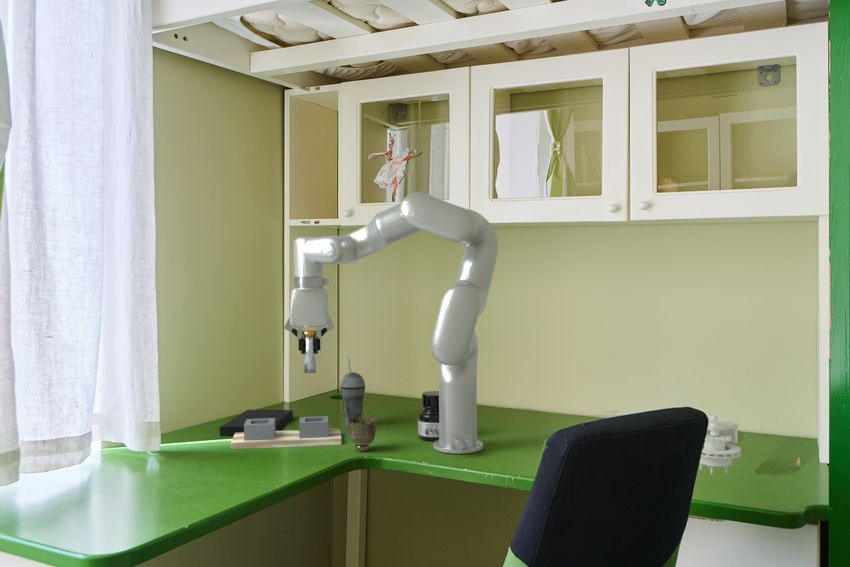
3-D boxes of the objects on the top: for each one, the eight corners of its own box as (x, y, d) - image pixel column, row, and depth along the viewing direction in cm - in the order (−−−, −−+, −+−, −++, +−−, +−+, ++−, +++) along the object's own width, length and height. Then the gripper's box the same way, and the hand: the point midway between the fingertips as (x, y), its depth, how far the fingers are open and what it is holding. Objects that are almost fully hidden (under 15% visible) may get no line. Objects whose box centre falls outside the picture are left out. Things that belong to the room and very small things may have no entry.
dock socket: (273, 439, 198) (273, 424, 198) (244, 440, 197) (243, 425, 197) (275, 432, 206) (275, 418, 206) (246, 434, 205) (246, 419, 204)
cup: (372, 454, 188) (372, 422, 188) (343, 453, 189) (343, 421, 189) (380, 447, 195) (380, 416, 195) (352, 446, 197) (352, 415, 196)
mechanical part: (701, 478, 166) (701, 423, 166) (678, 463, 178) (679, 412, 178) (751, 476, 167) (751, 422, 166) (726, 462, 179) (726, 411, 178)
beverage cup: (364, 429, 215) (363, 358, 214) (338, 429, 215) (337, 358, 215) (367, 424, 222) (366, 355, 222) (342, 424, 223) (341, 355, 222)
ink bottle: (412, 440, 202) (412, 395, 202) (422, 433, 211) (422, 389, 210) (448, 442, 199) (448, 397, 199) (457, 435, 208) (456, 391, 207)
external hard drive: (219, 437, 209) (219, 426, 209) (246, 419, 232) (246, 409, 232) (270, 438, 208) (270, 427, 208) (293, 420, 231) (292, 410, 231)
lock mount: (328, 437, 200) (328, 422, 200) (299, 438, 199) (299, 423, 199) (328, 430, 208) (327, 416, 207) (300, 431, 207) (299, 417, 206)
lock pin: (317, 373, 201) (316, 331, 201) (302, 373, 201) (301, 331, 200) (317, 371, 205) (316, 330, 204) (302, 371, 204) (302, 330, 204)
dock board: (341, 444, 198) (341, 438, 198) (230, 449, 195) (230, 443, 195) (340, 433, 210) (339, 428, 210) (235, 438, 206) (235, 432, 206)
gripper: (339, 282, 207) (340, 350, 207) (277, 283, 204) (278, 352, 205) (340, 283, 199) (341, 354, 200) (276, 284, 197) (277, 356, 198)
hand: (309, 352), depth 202 cm, fingers closed on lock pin, 3 cm apart
